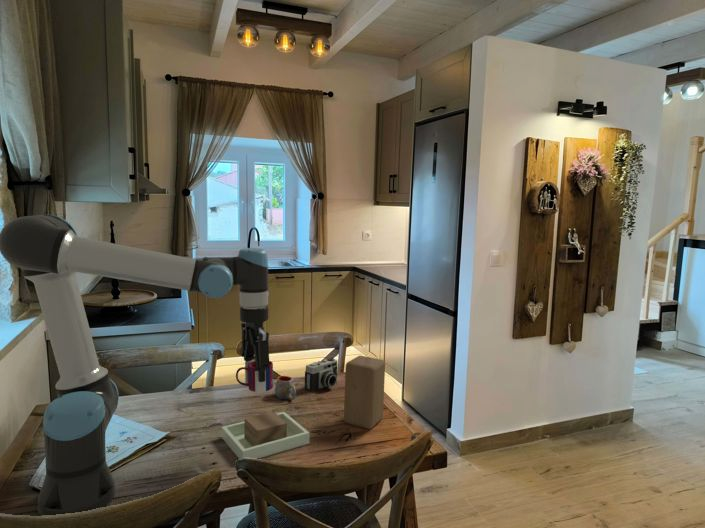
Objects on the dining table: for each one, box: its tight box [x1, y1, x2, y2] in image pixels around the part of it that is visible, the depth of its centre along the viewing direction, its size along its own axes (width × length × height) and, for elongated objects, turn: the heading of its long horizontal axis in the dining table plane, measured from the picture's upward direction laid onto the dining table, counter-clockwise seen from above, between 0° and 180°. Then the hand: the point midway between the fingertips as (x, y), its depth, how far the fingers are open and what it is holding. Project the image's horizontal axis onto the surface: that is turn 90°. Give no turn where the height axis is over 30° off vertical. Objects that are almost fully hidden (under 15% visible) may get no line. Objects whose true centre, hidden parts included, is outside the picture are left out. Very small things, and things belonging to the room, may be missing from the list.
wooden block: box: [343, 355, 386, 430], centre depth 151 cm, size 10×10×20 cm
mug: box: [273, 375, 297, 401], centre depth 167 cm, size 12×7×7 cm, turn 31°
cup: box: [235, 360, 274, 393], centre depth 130 cm, size 7×10×7 cm
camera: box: [304, 357, 338, 393], centre depth 178 cm, size 14×9×10 cm, turn 130°
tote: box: [221, 411, 311, 460], centre depth 135 cm, size 20×16×4 cm
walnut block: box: [244, 411, 287, 447], centre depth 135 cm, size 9×9×6 cm
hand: (255, 387), depth 130 cm, fingers closed on cup, 7 cm apart
